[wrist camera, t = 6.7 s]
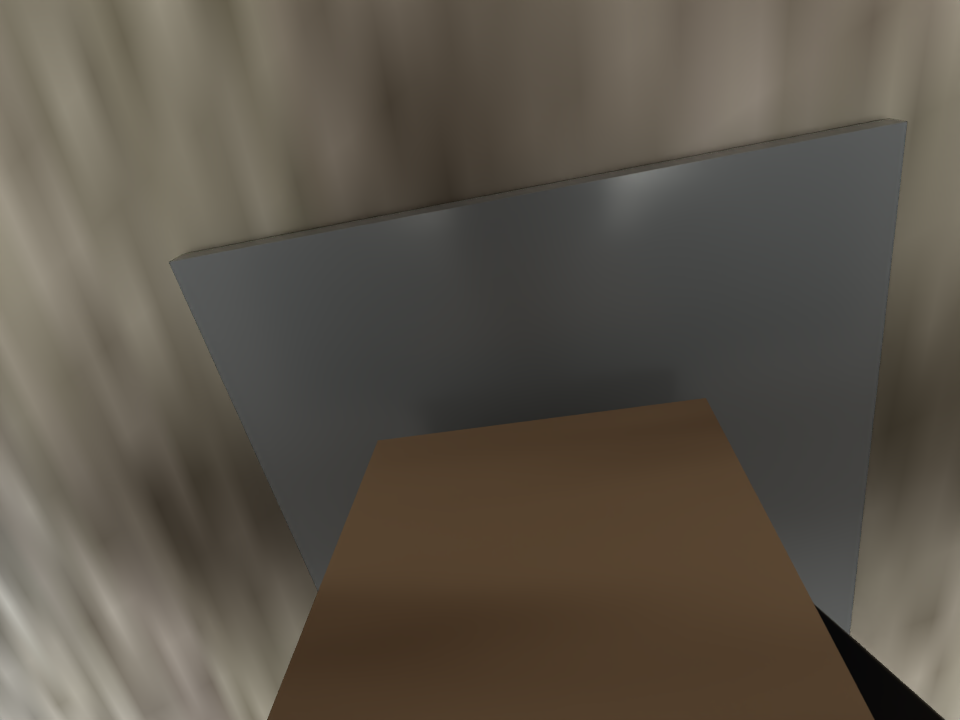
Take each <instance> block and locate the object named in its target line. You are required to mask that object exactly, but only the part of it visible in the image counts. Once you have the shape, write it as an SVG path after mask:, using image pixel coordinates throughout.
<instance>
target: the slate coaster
mask: <svg viewBox="0 0 960 720" xmlns="http://www.w3.org/2000/svg"><path fill="white" fill-rule="evenodd" d="M906 129H907V121H902V120H896V119H890V118H889V119H884V120H879V121H873V122H868V123H863V124H858V125H853V126H847V127H842V128H837V129H832V130H826V131H821V132H816V133H811V134H806V135H800V136H795V137H790V138H785V139H780V140H774V141H769V142H764V143H759V144H754V145H748V146H743V147H738V148H733V149H728V150H722V151H717V152H712V153H707V154H702V155H696V156H691V157H686V158H681V159H675V160H670V161H665V162H660V163H655V164H649V165H644V166H639V167H634V168H629V169H623V170H618V171H613V172H608V173H603V174H597V175H592V176H587V177H582V178H577V179H571V180H566V181H561V182H556V183H551V184H545V185H540V186H535V187H530V188H524V189H519V190H514V191H509V192H504V193H498V194H493V195H488V196H483V197H478V198H472V199H467V200H462V201H457V202H452V203H446V204H441V205H436V206H431V207H426V208H420V209H415V210H410V211H405V212H400V213H394V214H389V215H384V216H379V217H374V218H368V219H363V220H358V221H353V222H347V223H342V224H337V225H332V226H327V227H321V228H316V229H311V230H306V231H301V232H295V233H290V234H285V235H280V236H275V237H269V238H264V239H259V240H254V241H249V242H243V243H238V244H233V245H228V246H223V247H217V248H212V249H207V250H202V251H196V252H191V253H186V254H182V255H180V256H179V257H177V258H175V259H173V260H172V261H170V262H169V264H170V266H171V268H172V270H173V273H174V275H175V277H176V279H177V281H178V284H179V286H180V288H181V290H182V292H183V295H184V297H185V299H186V301H187V304H188V306H189V308H190V310H191V312H192V315H193V317H194V319H195V321H196V323H197V326H198V328H199V330H200V332H201V334H202V337H203V339H204V341H205V343H206V345H207V348H208V350H209V352H210V354H211V356H212V359H213V361H214V363H215V365H216V368H217V370H218V372H219V374H220V376H221V379H222V381H223V383H224V385H225V387H226V390H227V392H228V394H229V396H230V398H231V401H232V403H233V405H234V407H235V409H236V412H237V414H238V416H239V418H240V421H241V423H242V425H243V427H244V429H245V432H246V434H247V436H248V438H249V440H250V443H251V445H252V447H253V449H254V451H255V454H256V456H257V458H258V460H259V462H260V465H261V467H262V469H263V471H264V474H265V476H266V478H267V480H268V482H269V485H270V487H271V489H272V491H273V493H274V496H275V498H276V500H277V502H278V504H279V507H280V509H281V511H282V513H283V515H284V518H285V520H286V522H287V524H288V527H289V529H290V531H291V533H292V535H293V538H294V540H295V542H296V544H297V546H298V549H299V551H300V553H301V555H302V557H303V560H304V562H305V564H306V566H307V568H308V571H309V573H310V575H311V577H312V579H313V582H314V584H315V586H316V588H317V591H318V590H319V588H320V585H321V583H322V580H323V578H324V575H325V573H326V570H327V568H328V565H329V563H330V560H331V558H332V555H333V552H334V550H335V547H336V545H337V542H338V540H339V537H340V535H341V532H342V530H343V527H344V525H345V522H346V520H347V517H348V515H349V512H350V510H351V507H352V505H353V502H354V499H355V497H356V494H357V492H358V489H359V487H360V484H361V482H362V479H363V477H364V474H365V472H366V469H367V467H368V464H369V462H370V459H371V457H372V454H373V452H374V449H375V446H376V444H377V441H378V440H386V439H394V438H401V437H409V436H417V435H425V434H432V433H440V432H448V431H455V430H463V429H471V428H478V427H486V426H494V425H502V424H509V423H517V422H525V421H532V420H540V419H548V418H555V417H563V416H571V415H579V414H586V413H594V412H602V411H609V410H617V409H625V408H632V407H640V406H648V405H656V404H663V403H671V402H679V401H686V400H694V399H702V398H706V399H707V401H708V403H709V405H710V407H711V409H712V411H713V412H714V414H715V416H716V418H717V420H718V422H719V424H720V426H721V428H722V430H723V432H724V433H725V435H726V437H727V439H728V441H729V443H730V445H731V447H732V449H733V451H734V453H735V454H736V456H737V458H738V460H739V462H740V464H741V466H742V468H743V470H744V472H745V474H746V475H747V477H748V479H749V481H750V483H751V485H752V487H753V489H754V491H755V493H756V495H757V496H758V498H759V500H760V502H761V504H762V506H763V508H764V510H765V512H766V514H767V516H768V517H769V519H770V521H771V523H772V525H773V527H774V529H775V531H776V533H777V535H778V537H779V538H780V540H781V542H782V544H783V546H784V548H785V550H786V552H787V554H788V556H789V558H790V559H791V561H792V563H793V565H794V567H795V569H796V571H797V573H798V575H799V577H800V579H801V580H802V582H803V584H804V586H805V588H806V590H807V592H808V594H809V596H810V598H811V600H812V601H813V603H814V604H815V605H816V606H817V607H818V608H819V609H821V610H822V611H823V612H824V613H825V614H826V615H827V616H829V617H830V618H831V619H832V620H833V621H834V622H835V623H836V624H838V625H839V626H840V627H841V628H842V629H843V630H844V631H845V632H847V633H848V634H850V626H851V617H852V608H853V599H854V590H855V581H856V572H857V564H858V555H859V546H860V537H861V528H862V519H863V510H864V501H865V493H866V484H867V475H868V466H869V457H870V448H871V439H872V430H873V422H874V413H875V404H876V395H877V386H878V377H879V368H880V359H881V351H882V342H883V333H884V324H885V315H886V306H887V297H888V288H889V280H890V271H891V262H892V253H893V244H894V235H895V226H896V218H897V209H898V200H899V191H900V182H901V173H902V164H903V155H904V147H905V138H906Z"/></svg>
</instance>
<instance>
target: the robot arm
mask: <svg viewBox="0 0 960 720" xmlns="http://www.w3.org/2000/svg"><path fill="white" fill-rule="evenodd" d="M814 605H815V604H814ZM815 607H816V609H817V611H818V613H819V615H820V617H821V619H822V621H823V622H824V624H825V626H826V628H827V630H828V632H829V634H830V636H831V638H832V640H833V642H834V643H835V645H836V647H837V649H838V651H839V653H840V655H841V657H842V659H843V661H844V663H845V664H846V666H847V668H848V670H849V672H850V674H851V676H852V678H853V680H854V682H855V684H856V685H857V687H858V689H859V691H860V693H861V695H862V697H863V699H864V701H865V703H866V705H867V706H868V708H869V710H870V712H871V714H872V716H873V718H874V720H945V719H944V718H942V717H941V716H940V715H939V714H938V713H937V712H936V711H935V710H933V709H932V708H931V707H930V706H929V705H928V704H927V703H926V702H924V701H923V700H922V699H921V698H920V697H919V696H918V695H917V694H915V693H914V692H913V691H912V690H911V689H910V688H909V687H907V686H906V685H905V684H904V683H903V682H902V681H901V680H900V679H898V678H897V677H896V676H895V675H894V674H893V673H892V672H891V671H889V670H888V669H887V668H886V667H885V666H884V665H883V664H882V663H880V662H879V661H878V660H877V659H876V658H875V657H874V656H873V655H871V654H870V653H869V652H868V651H867V650H866V649H865V648H863V647H862V646H861V645H860V644H859V643H858V642H857V641H856V640H854V639H853V638H852V637H851V636H850V635H849V634H848V633H847V632H845V631H844V630H843V629H842V628H841V627H840V626H839V625H838V624H836V623H835V622H834V621H833V620H832V619H831V618H830V617H829V616H827V615H826V614H825V613H824V612H823V611H822V610H821V609H819V608H818V607H817V606H816V605H815Z"/></svg>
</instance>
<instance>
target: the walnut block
mask: <svg viewBox="0 0 960 720" xmlns="http://www.w3.org/2000/svg"><path fill="white" fill-rule="evenodd" d="M267 720H874V718H873V716H872V714H871V712H870V710H869V708H868V706H867V705H866V703H865V701H864V699H863V697H862V695H861V693H860V691H859V689H858V687H857V685H856V684H855V682H854V680H853V678H852V676H851V674H850V672H849V670H848V668H847V666H846V664H845V663H844V661H843V659H842V657H841V655H840V653H839V651H838V649H837V647H836V645H835V643H834V642H833V640H832V638H831V636H830V634H829V632H828V630H827V628H826V626H825V624H824V622H823V621H822V619H821V617H820V615H819V613H818V611H817V609H816V607H815V605H814V603H813V601H812V600H811V598H810V596H809V594H808V592H807V590H806V588H805V586H804V584H803V582H802V580H801V579H800V577H799V575H798V573H797V571H796V569H795V567H794V565H793V563H792V561H791V559H790V558H789V556H788V554H787V552H786V550H785V548H784V546H783V544H782V542H781V540H780V538H779V537H778V535H777V533H776V531H775V529H774V527H773V525H772V523H771V521H770V519H769V517H768V516H767V514H766V512H765V510H764V508H763V506H762V504H761V502H760V500H759V498H758V496H757V495H756V493H755V491H754V489H753V487H752V485H751V483H750V481H749V479H748V477H747V475H746V474H745V472H744V470H743V468H742V466H741V464H740V462H739V460H738V458H737V456H736V454H735V453H734V451H733V449H732V447H731V445H730V443H729V441H728V439H727V437H726V435H725V433H724V432H723V430H722V428H721V426H720V424H719V422H718V420H717V418H716V416H715V414H714V412H713V411H712V409H711V407H710V405H709V403H708V401H707V399H706V398H702V399H694V400H686V401H679V402H671V403H663V404H656V405H648V406H640V407H632V408H625V409H617V410H609V411H602V412H594V413H586V414H579V415H571V416H563V417H555V418H548V419H540V420H532V421H525V422H517V423H509V424H502V425H494V426H486V427H478V428H471V429H463V430H455V431H448V432H440V433H432V434H425V435H417V436H409V437H401V438H394V439H386V440H378V441H377V444H376V446H375V449H374V452H373V454H372V457H371V459H370V462H369V464H368V467H367V469H366V472H365V474H364V477H363V479H362V482H361V484H360V487H359V489H358V492H357V494H356V497H355V499H354V502H353V505H352V507H351V510H350V512H349V515H348V517H347V520H346V522H345V525H344V527H343V530H342V532H341V535H340V537H339V540H338V542H337V545H336V547H335V550H334V552H333V555H332V558H331V560H330V563H329V565H328V568H327V570H326V573H325V575H324V578H323V580H322V583H321V585H320V588H319V590H318V593H317V595H316V598H315V600H314V603H313V605H312V608H311V610H310V613H309V616H308V618H307V621H306V623H305V626H304V628H303V631H302V633H301V636H300V638H299V641H298V643H297V646H296V648H295V651H294V653H293V656H292V658H291V661H290V663H289V666H288V669H287V671H286V674H285V676H284V679H283V681H282V684H281V686H280V689H279V691H278V694H277V696H276V699H275V701H274V704H273V706H272V709H271V711H270V714H269V716H268V719H267Z"/></svg>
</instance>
